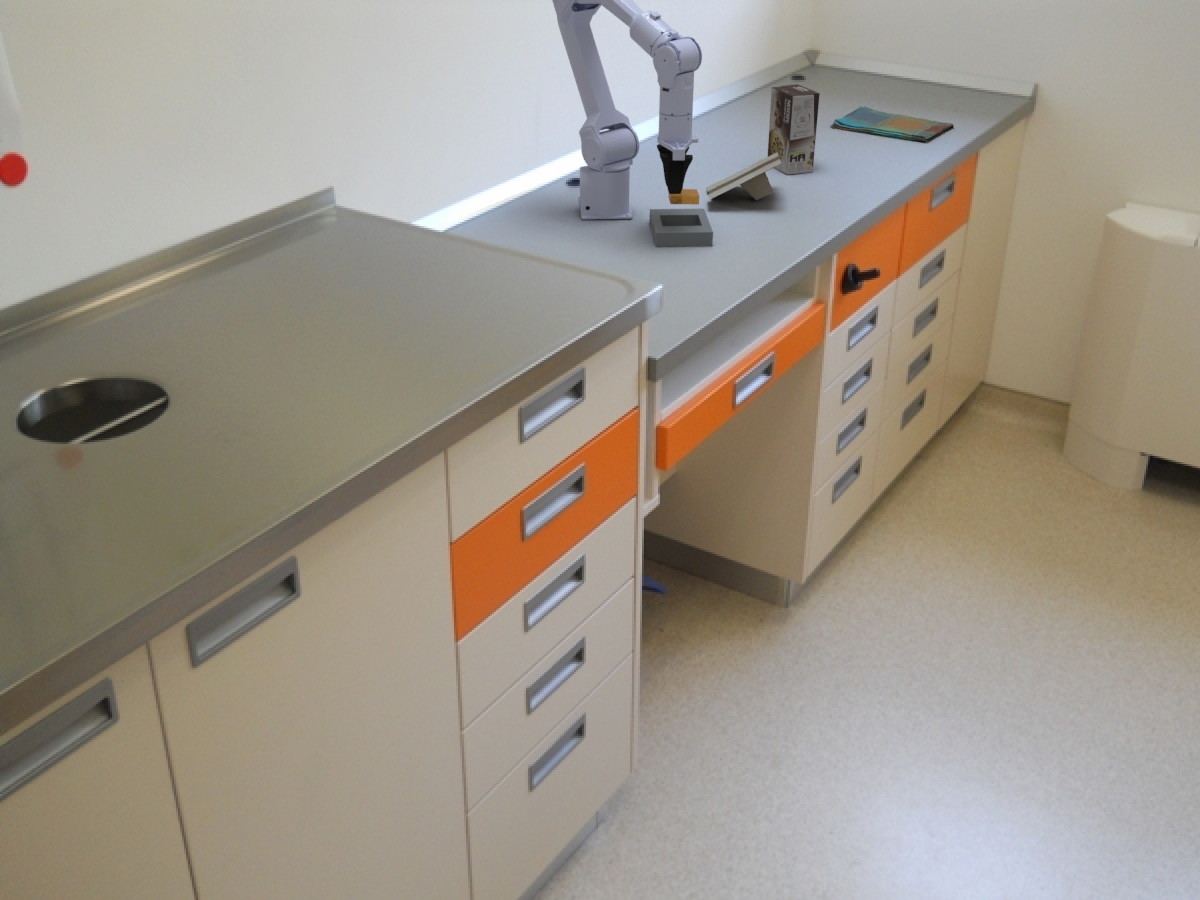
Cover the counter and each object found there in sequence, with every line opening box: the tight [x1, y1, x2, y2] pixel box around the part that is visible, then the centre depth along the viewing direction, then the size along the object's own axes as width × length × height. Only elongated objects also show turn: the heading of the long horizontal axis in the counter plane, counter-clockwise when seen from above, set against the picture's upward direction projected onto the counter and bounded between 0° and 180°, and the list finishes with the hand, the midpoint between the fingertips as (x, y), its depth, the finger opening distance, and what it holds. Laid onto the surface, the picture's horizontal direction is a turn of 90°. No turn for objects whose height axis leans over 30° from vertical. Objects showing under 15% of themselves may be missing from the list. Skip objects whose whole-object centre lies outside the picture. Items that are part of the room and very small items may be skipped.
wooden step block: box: [667, 188, 700, 205], centre depth 224 cm, size 5×4×6 cm
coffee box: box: [767, 83, 821, 176], centre depth 261 cm, size 9×6×16 cm
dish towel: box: [829, 105, 955, 144], centre depth 293 cm, size 17×23×2 cm
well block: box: [648, 208, 714, 248], centre depth 228 cm, size 10×13×2 cm
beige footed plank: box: [706, 152, 782, 201], centre depth 245 cm, size 16×9×15 cm
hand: (673, 189), depth 224 cm, fingers closed on wooden step block, 4 cm apart
